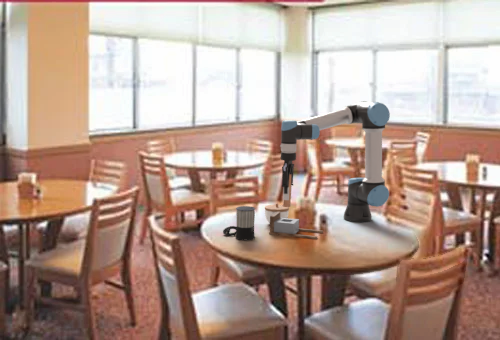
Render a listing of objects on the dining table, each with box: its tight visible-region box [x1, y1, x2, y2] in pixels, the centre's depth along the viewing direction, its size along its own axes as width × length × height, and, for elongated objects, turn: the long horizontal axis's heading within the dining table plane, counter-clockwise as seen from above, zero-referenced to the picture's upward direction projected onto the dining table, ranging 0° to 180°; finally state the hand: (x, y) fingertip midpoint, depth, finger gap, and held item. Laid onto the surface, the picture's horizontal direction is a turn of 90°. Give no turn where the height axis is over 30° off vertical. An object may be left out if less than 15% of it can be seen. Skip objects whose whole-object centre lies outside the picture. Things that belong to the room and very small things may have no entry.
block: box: [274, 218, 300, 234], centre depth 303 cm, size 10×10×6 cm
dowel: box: [282, 174, 292, 208], centre depth 300 cm, size 4×4×16 cm
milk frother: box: [222, 205, 256, 241], centre depth 293 cm, size 14×16×15 cm
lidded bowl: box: [264, 202, 290, 224], centre depth 320 cm, size 13×13×11 cm
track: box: [268, 212, 324, 240], centre depth 301 cm, size 24×13×9 cm, turn 71°
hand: (287, 199), depth 301 cm, fingers closed on dowel, 3 cm apart
